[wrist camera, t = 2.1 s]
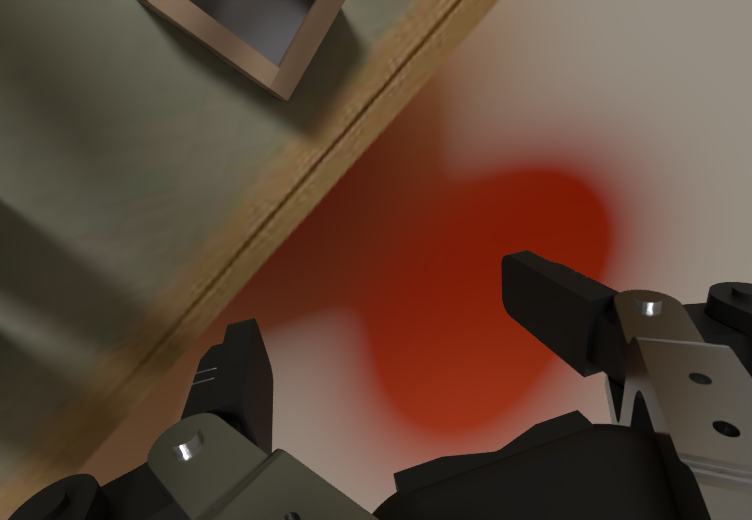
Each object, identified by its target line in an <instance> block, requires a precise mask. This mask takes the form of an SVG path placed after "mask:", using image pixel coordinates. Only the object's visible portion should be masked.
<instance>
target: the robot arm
mask: <svg viewBox="0 0 752 520" xmlns="http://www.w3.org/2000/svg"><path fill="white" fill-rule="evenodd" d="M501 266H502V267H501V268H502V301H503V305H504V307H505V310H506V311H507V313H508V314H509V316H511V317H512V318H513V319H514V320H515V321H517V322H518V323H519V324H520V325H521V326H523V327H524V328H525V329H526V330H528V331H529V332H530V333H531V334H532V335H534V336H535V337H536V338H537V339H538V340H540V341H541V342H542V343H543V344H545V345H546V346H547V347H548V348H549V349H551V350H552V351H553V352H554V353H555V354H557V355H558V356H559V357H560V358H561V359H563V360H564V361H565V362H566V363H567V364H569V365H570V366H571V367H572V368H574V369H575V370H576V371H577V372H578V373H579V374H581V375H582V376H583V377H587V376H590V375H593V374H596V373H598V372H602V371H603V372H605V373H606V376H605V389H606V394H607V400H608V405H609V410H610V415H611V420H612V424H592V423H591V422H590V421H589V420H588V419H587V418H585V417H584V416H583V415H582V414H581V413H580V412H579V411H578V410H576V411H573V412H570V413H567V414H565V415H562V416H559V417H556V418H553V419H550V420H547V421H544V422H541V423H538V424H536V425H534V426H533V427H531V428H530V429H529V430H527V431H526V432H524V433H523V434H521V435H520V436H519V437H517V438H516V439H514V440H513V441H512V442H510V443H509V444H507V445H506V446H505V447H503V448H502V449H500V450H498V451H495V452H487V453H478V454H467V455H457V456H445V457H440V458H437V459H434V460H432V461H429V462H426V463H423V464H420V465H417V466H414V467H411V468H408V469H405V470H403V471H400V472H397V473H394V479H395V484H396V489H397V492H396V493H395V494H393V495H392V496H390V497H389V498H388V499H387V500H386V501H384V502H383V503H382V504H381V505H380V506H379V507H378V508H377V509H376V510H375V511H374V512H373V514H371V513H369V512H368V511H367V510H365V509H364V508H362V507H361V506H360V505H358V504H357V503H356V502H354V501H353V500H351V499H350V498H349V497H347V496H346V495H345V494H343V493H342V492H341V491H339V490H338V489H337V488H335V487H334V486H332V485H331V484H330V483H328V482H327V481H326V480H324V479H323V478H322V477H320V476H319V475H318V474H316V473H315V472H313V471H312V470H311V469H309V468H308V467H307V466H305V465H304V464H302V463H301V462H300V461H298V460H297V459H295V458H294V457H293V456H292V455H290V454H289V453H287V452H286V451H284V450H282V449H276V450H275V451H274V452H273V453H272V417H273V416H272V414H273V375H272V369H271V365H270V361H269V358H268V355H267V352H266V349H265V345H264V342H263V339H262V336H261V333H260V330H259V327H258V324H257V322H256V320H255V319H254V318H253V319H249V320H245V321H241V322H237V323H233V324H229V325H228V326H227V329H226V333H225V337H224V341H223V343H222V344H219V345H215V346H212V347H211V348H210V349H209V350H208V351H207V353H206V354H205V355H204V356H203V357H202V358H201V360H200V363H199V366H198V369H197V374H196V375H195V378H194V381H193V385H192V387H191V390H190V393H189V396H188V399H187V402H186V405H185V408H184V411H183V414H182V417H181V420H180V421H179V422H177V423H176V424H174V425H173V426H171V427H170V428H168V429H167V430H166V431H165V432H164V433H162V434H161V435H160V436H159V438H158V439H157V440H156V441H155V443H154V444H153V445H152V447H151V449H150V451H149V454H148V459H147V462H146V463H144V464H143V465H141V466H139V467H137V468H136V469H134V470H132V471H130V472H128V473H126V474H124V475H122V476H121V477H119V478H117V479H115V480H113V481H111V482H109V483H107V484H106V485H104V486H102V487H100V485H99V484H98V482H97V481H96V479H95V478H94V477H93V476H92V475H89V474H77V475H73V476H69V477H66V478H64V479H61V480H59V481H57V482H55V483H53V484H51V485H49V486H47V487H46V488H44V489H42V490H41V491H39V492H38V493H36V494H35V495H34V496H32V497H31V498H30V499H28V500H27V501H26V502H25V503H24V504H23V505H21V506H20V507H19V508H18V509H17V510H16V511H15V512H14V513H13V514H12V515H11V517H10V518H9V519H8V520H752V284H749V283H741V282H724V283H718V284H715V285H713V286H711V287H710V289H709V293H708V298H707V302H706V303H698V304H685V305H682V304H681V303H680V302H679V301H678V300H676V299H675V298H673V297H671V296H669V295H666V294H663V293H660V292H655V291H650V290H627V291H623V292H617V291H615V290H613V289H611V288H609V287H607V286H605V285H603V284H601V283H599V282H597V281H595V280H593V279H591V278H589V277H587V278H586V276H585V275H582V274H581V273H579V272H575V270H572V269H571V268H569V267H567V266H565V265H562V264H559V263H554V262H550V261H548V260H546V259H544V258H542V257H540V256H538V255H536V254H534V253H532V252H530V251H528V250H525V251H521V252H518V253H513V254H510V255H505V256H504V257H503V259H502V263H501Z"/></svg>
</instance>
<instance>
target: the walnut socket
mask: <svg viewBox="0 0 752 520" xmlns="http://www.w3.org/2000/svg"><path fill="white" fill-rule="evenodd" d="M137 1H139V2H140V3H142V4H143V5H145V6H146V7H147V8H149V9H150V10H152V11H153V12H154V13H156V14H157V15H159V16H160V17H162V18H163V19H164V20H166V21H167V22H169V23H170V24H172V25H173V26H174V27H176V28H177V29H179V30H180V31H181V32H183V33H184V34H186V35H187V36H189V37H190V38H191V39H193V40H194V41H196V42H197V43H198V44H200V45H201V46H203V47H204V48H206V49H207V50H208V51H210V52H211V53H213V54H214V55H216V56H217V57H218V58H220V59H221V60H223V61H224V62H225V63H227V64H228V65H230V66H231V67H233V68H234V69H235V70H237V71H238V72H240V73H241V74H243V75H244V76H245V77H247V78H248V79H250V80H251V81H252V82H254V83H255V84H257V85H258V86H260V87H261V88H262V89H264V90H265V91H267V92H268V93H269V94H271V95H272V96H274V97H275V98H277V99H278V100H279V101H288V100H289V98H290V96H291V95H292V93H293V91H294V89H295V88H296V86H297V84H298V82H299V81H300V79H301V77H302V75H303V74H304V72H305V70H306V68H307V67H308V65H309V63H310V61H311V60H312V58H313V56H314V54H315V53H316V51H317V49H318V47H319V46H320V44H321V42H322V40H323V38H324V37H325V35H326V33H327V31H328V30H329V28H330V26H331V24H332V23H333V21H334V19H335V17H336V16H337V14H338V12H339V10H340V9H341V7H342V5H343V3H344V2H345V0H137Z"/></svg>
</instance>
